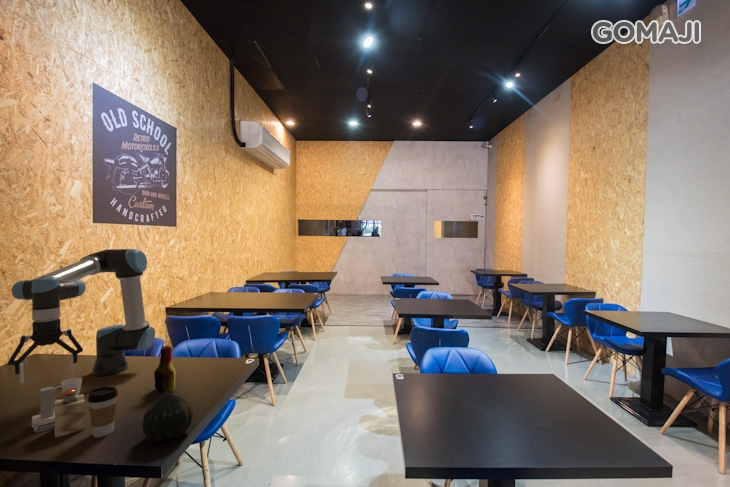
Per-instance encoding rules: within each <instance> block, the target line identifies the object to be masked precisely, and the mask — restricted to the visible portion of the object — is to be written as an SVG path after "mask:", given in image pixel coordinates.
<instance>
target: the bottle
mask: <svg viewBox="0 0 730 487" xmlns="http://www.w3.org/2000/svg"><path fill="white" fill-rule="evenodd" d="M172 349H173V347H171V345H163V347H161V348H160V358H159V363H158V364H157V365H156V367H155V368H154V371H153V373H154V374H153V375H154V387H155V388H154V389H155V390H156V391H160V392H162V393H164V392H169V393H171V392H173V391H174V390H176V388H175V386H176V369H175V368H174V367H175V366H173V363H172V362H173V352H172V351H173V350H172Z"/></svg>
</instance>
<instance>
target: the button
mask: <svg viewBox="0 0 730 487" xmlns="http://www.w3.org/2000/svg"><path fill="white" fill-rule="evenodd" d="M76 392H77V389H76V388H71V389H67V390H64V391H63V390H62V391H61V395H62V396H63V399H64V404H68V403H72V402H75V393H76Z"/></svg>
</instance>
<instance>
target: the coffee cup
mask: <svg viewBox="0 0 730 487" xmlns="http://www.w3.org/2000/svg"><path fill="white" fill-rule="evenodd" d="M118 395H119V392H118V389H117V387H116V386H115V387H114V386H100V387H96V388H93V389H91V390H90V391H89V393H88V397H87V401H88V402H87V403H89V408H88V409H89V416H90V421H91V422H90V423H91V424H90V425H91V432H92V437H93V438H102V437H106V436H107V435H111V433H113V432H114V430H115V420H116V412H117V404H118V403H117V397H118Z"/></svg>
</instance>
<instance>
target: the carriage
mask: <svg viewBox="0 0 730 487" xmlns="http://www.w3.org/2000/svg"><path fill="white" fill-rule="evenodd" d="M54 388H55V387H54V385H52V386H46V387H42V388H40V394H39V395H40V401H39V402H40V405H39V406H40V409H39V410H40V413H41V414H39V415H37V414H36V415H32V418H31V428H33V432H35V430H38V429H39V426H40V425H44V424H48V423H51V422H55V411H54V408H55V400H54V398H55V396H54V392H55V390H54Z"/></svg>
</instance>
